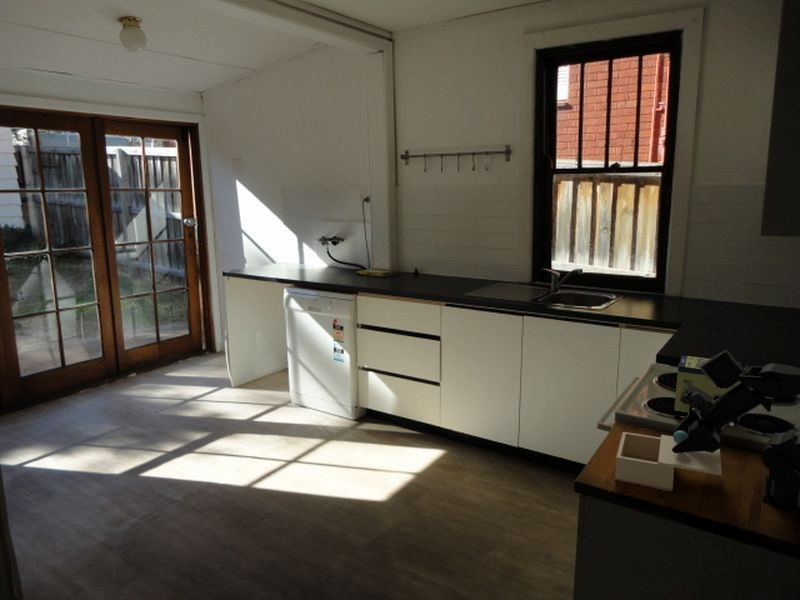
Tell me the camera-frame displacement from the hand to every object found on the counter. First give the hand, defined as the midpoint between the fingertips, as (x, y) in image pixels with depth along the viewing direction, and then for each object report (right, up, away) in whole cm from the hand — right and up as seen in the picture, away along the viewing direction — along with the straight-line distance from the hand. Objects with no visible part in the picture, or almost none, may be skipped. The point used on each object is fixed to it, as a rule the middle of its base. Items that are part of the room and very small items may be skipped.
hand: (673, 442), depth 134 cm
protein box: (+25, -1, +33) cm, 41 cm away
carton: (-5, -8, +4) cm, 10 cm away
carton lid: (+3, -3, -1) cm, 4 cm away
